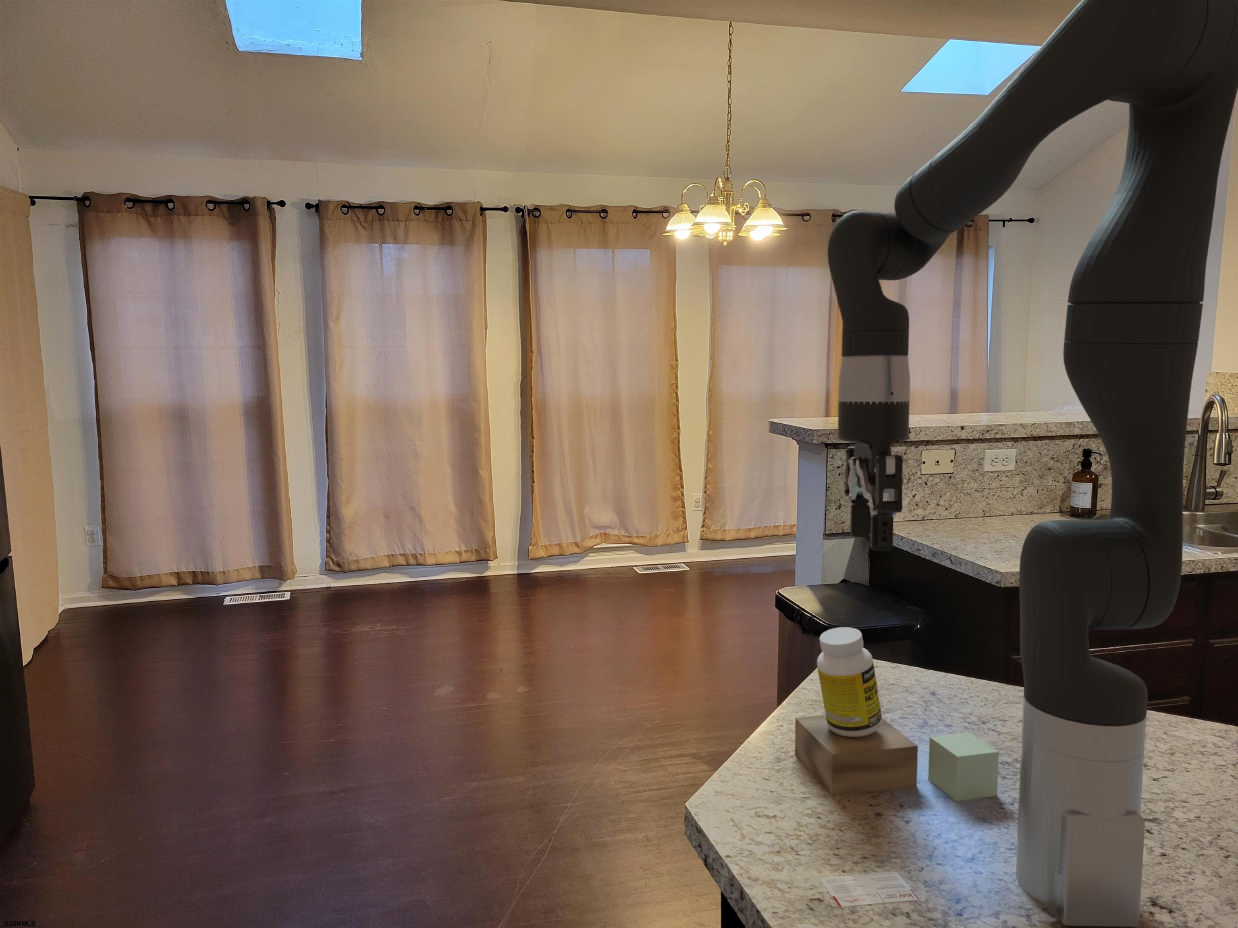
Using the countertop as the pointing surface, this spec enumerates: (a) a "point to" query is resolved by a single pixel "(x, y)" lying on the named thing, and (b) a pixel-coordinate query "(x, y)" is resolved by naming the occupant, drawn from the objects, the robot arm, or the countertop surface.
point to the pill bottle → (848, 683)
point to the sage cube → (963, 766)
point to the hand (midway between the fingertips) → (870, 543)
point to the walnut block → (856, 757)
